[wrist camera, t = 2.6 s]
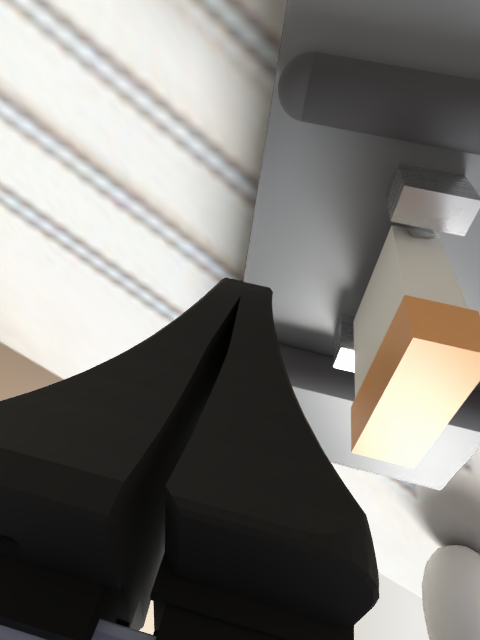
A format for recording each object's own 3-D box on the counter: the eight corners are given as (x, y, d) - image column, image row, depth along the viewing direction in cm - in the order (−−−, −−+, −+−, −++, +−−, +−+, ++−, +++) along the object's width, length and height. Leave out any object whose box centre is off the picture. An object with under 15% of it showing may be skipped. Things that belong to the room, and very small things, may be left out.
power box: (750, 12, 11) (980, 14, 7) (431, 442, 23) (448, 529, 19) (308, -55, 12) (289, -87, 8) (231, 392, 24) (209, 465, 20)
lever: (440, 224, 12) (497, 356, 8) (392, 322, 15) (414, 468, 10) (388, 213, 12) (413, 337, 8) (349, 313, 15) (351, 452, 10)
